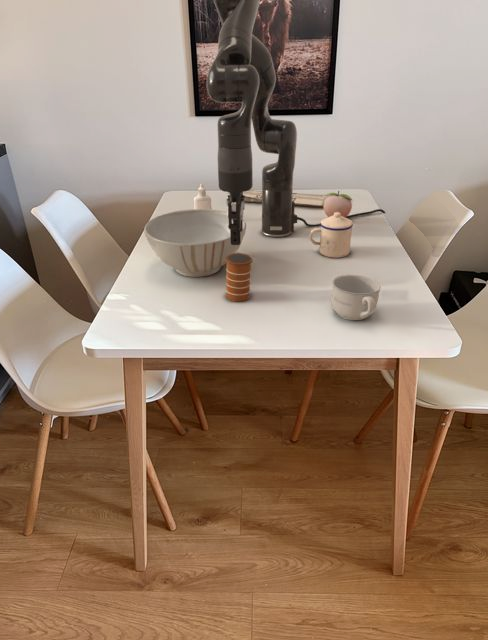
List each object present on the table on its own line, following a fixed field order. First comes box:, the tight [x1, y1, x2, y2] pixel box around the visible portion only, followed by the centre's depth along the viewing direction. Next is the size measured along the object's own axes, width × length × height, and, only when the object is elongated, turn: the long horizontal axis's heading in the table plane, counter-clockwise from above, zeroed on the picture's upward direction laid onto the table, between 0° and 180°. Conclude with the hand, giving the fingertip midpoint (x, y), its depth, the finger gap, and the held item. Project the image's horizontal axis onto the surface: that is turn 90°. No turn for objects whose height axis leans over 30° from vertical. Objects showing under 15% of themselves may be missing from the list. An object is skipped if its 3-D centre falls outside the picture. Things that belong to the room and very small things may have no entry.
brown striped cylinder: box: [225, 252, 254, 302], centre depth 136 cm, size 10×6×6 cm
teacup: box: [330, 274, 381, 321], centre depth 127 cm, size 14×11×8 cm
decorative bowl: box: [143, 208, 247, 278], centre depth 151 cm, size 27×27×12 cm
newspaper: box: [227, 189, 329, 208], centre depth 201 cm, size 35×12×4 cm, turn 76°
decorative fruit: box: [323, 190, 353, 217], centre depth 181 cm, size 9×8×10 cm
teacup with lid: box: [308, 212, 354, 259], centre depth 159 cm, size 12×9×12 cm
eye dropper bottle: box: [193, 183, 213, 210], centre depth 183 cm, size 4×6×12 cm
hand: (236, 237), depth 130 cm, fingers open, 8 cm apart
